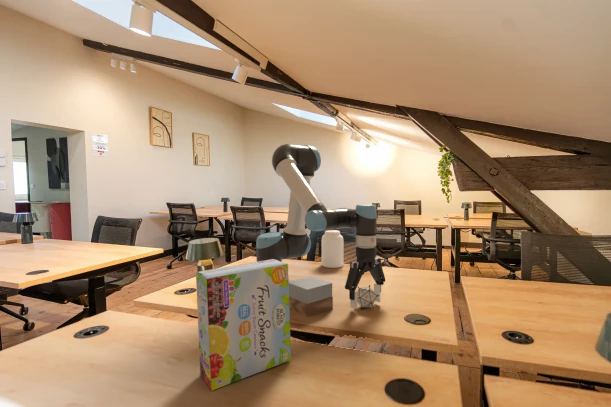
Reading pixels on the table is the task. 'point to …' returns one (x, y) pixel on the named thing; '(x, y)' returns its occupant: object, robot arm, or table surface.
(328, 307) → the tower base
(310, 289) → the tower top
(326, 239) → the white plastic jar
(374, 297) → the game die
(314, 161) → the robot arm
